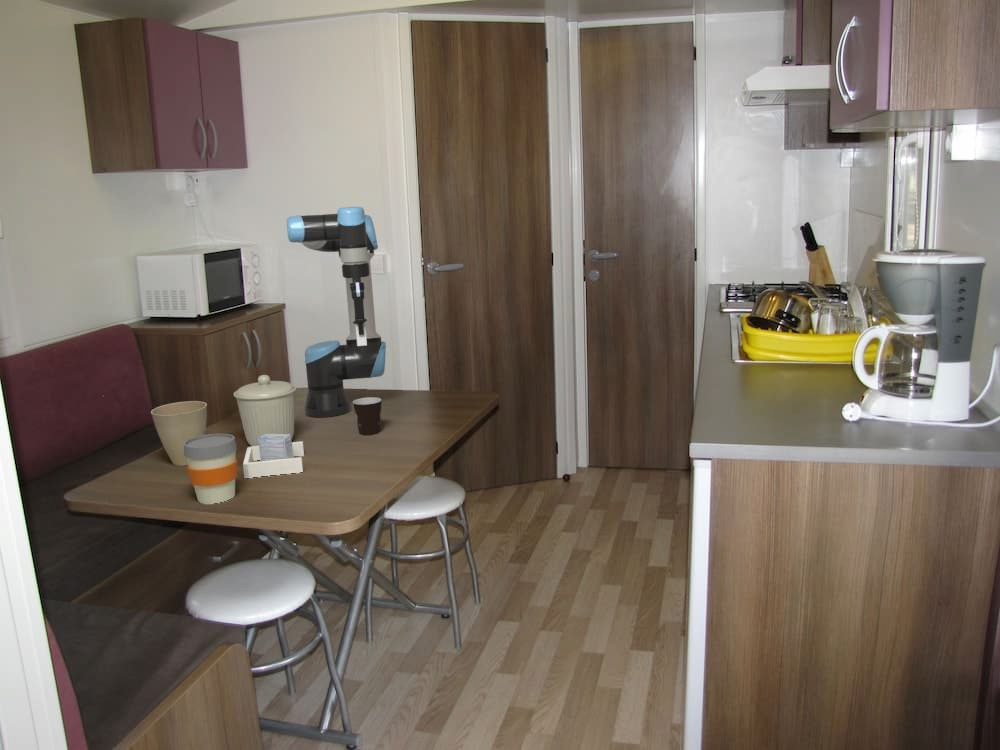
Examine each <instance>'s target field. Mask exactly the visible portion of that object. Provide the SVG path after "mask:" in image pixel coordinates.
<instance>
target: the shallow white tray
mask: <svg viewBox="0 0 1000 750" xmlns="http://www.w3.org/2000/svg"><path fill="white" fill-rule="evenodd" d="M292 449H293V458H289V459H279V460H269V461H261V459H260V450H259V446H251V445H250V446H247V448H246V452H245V455H244V460H243V462H242V463H243V464H242V468H243V477H244V479H245V478H249V479H254V478H253V477H258V478H262V477H261V476H268V477H271V476H270V475H277V476H281V475H280V474H287V475H292V474H291V473H296V474H301V473H300V472H303V473H304V469H303V459H302V457H305V451H304V441H303V440H302V441H293V442H292ZM294 456H299V457H294ZM257 460H260V461H257Z"/></svg>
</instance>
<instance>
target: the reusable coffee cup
mask: <svg viewBox="0 0 1000 750" xmlns="http://www.w3.org/2000/svg"><path fill="white" fill-rule="evenodd" d="M237 449H238V447H237V443H236V438H235V436H234V435H233V434H228V433H221V432H220V433H210V434H209V433H208V434H205V435H202V436H197V437H194V438H191V439H189V440H187V441H185V443H184V456H185V457H186V459H187V463H188V464H187V465H186V469H187V472H188V476H189V480H190V483H191V485H193V487H194V492H195V495H196V498H197V502H198V503H199V502H200V503H199V504H202V503H203V505H215V504H214V503H218V504H221V503H220V502H223V503H225V502H224V501H226V502H228V501H227V500H229V499H231V498H233V497H234V496H235V497H236V478H237V477H238V458H237V457H236V451H237ZM235 497H234V498H235ZM234 498H233V499H234ZM231 500H232V499H231ZM229 501H230V500H229Z"/></svg>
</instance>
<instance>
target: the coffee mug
mask: <svg viewBox="0 0 1000 750" xmlns="http://www.w3.org/2000/svg"><path fill="white" fill-rule="evenodd" d="M352 404H353V410H354V415H355V418H356V419H355V420H356V424H357V429H358V433H359V435H361V436H374V434H375V435H378V434H380V433H381V422H382V421H381V420H382V416H381V415H382V399H381V398H380V397H376V396H375V397H374V396H373V397H372V396H371V397H370V396H368V397H361V398H357V399H354V400H353V401H352ZM379 432H380V433H379Z"/></svg>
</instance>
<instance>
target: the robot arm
mask: <svg viewBox="0 0 1000 750" xmlns="http://www.w3.org/2000/svg"><path fill="white" fill-rule="evenodd" d="M286 230H287V231H286V232H287V238H288V240H289V242H290V243H298V244H300V243H301V245H302V246H304V247H305V248H307V249H310V250H314V251H318V252H324V253H325V252H326V253H335V252H336V253H338V257H339V259H340V262H341V263H342V264H341V272H342V277H343V278H344V279H345V289H346V290H345V291H346V303H347V314H348V324H349V325H348V326H349V335H348V336H347V337H346V339H345V341H346V343H345V344H341V343H340V341H339V340H326V341H322V342H317V343H314V344H312V345H310V346H308V347H306V349H305V351H304V363H305V370H306V380H307V389H308V390H307V395H306V399H305V404H304V414H305V416H308V417H312V418H330V417H336V415H337V416H341V415H344V414H347V413H349V412H351V407H352V406H351V402H350V399H349V398H348V395H347V393H346V390H345V387H344V381H345V380H347V381H348V380H357V379H358V380H359V379H360V380H361V379H372V378H379V377H380V378H381V377H382V376H383V375H384V373H385V371H386V370H385V369H386V347H387V346H386V345H387V343H386V342H385V341H383V340H382V336H381V335H380V334H379V333H378V332H377V329H376V318H375V317H376V315H375V305H374V302H375V301H374V294H373V280H372V266H371V259H373V257H374V256H375V251H376V250H378V248H379V245H378V241H377V236H376V230H375V227H374V222H373V218H372V217H371V216H370V215H368V214H365V210H364V208H363V207H362V206H346V207H339V208H338V209H337V213H326V214H311V215H310V214H309V215H308V214H307V215H295V216H288V217H287V219H286Z"/></svg>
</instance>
